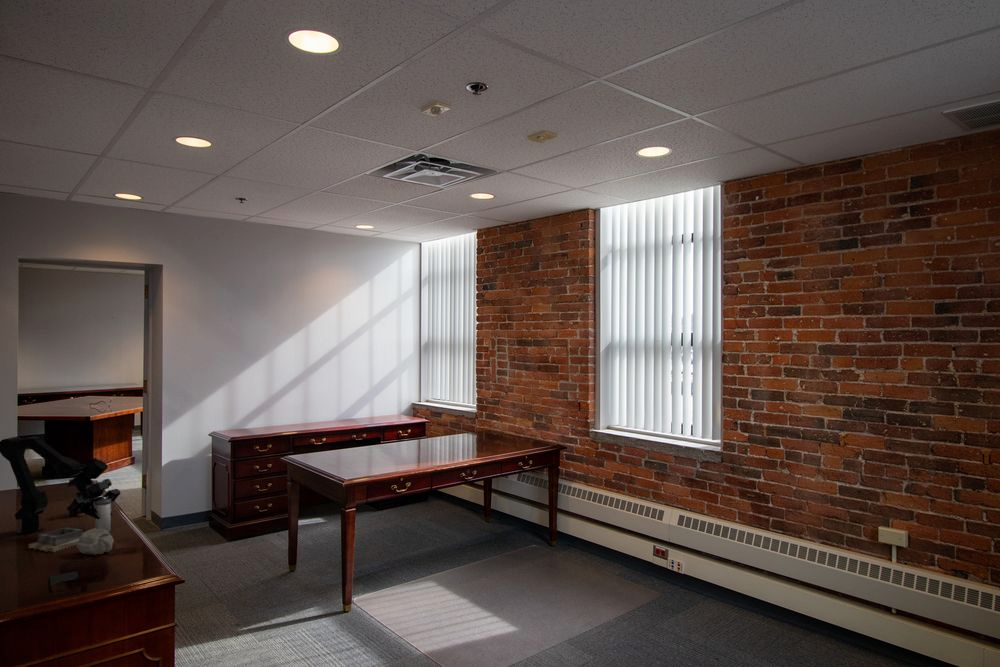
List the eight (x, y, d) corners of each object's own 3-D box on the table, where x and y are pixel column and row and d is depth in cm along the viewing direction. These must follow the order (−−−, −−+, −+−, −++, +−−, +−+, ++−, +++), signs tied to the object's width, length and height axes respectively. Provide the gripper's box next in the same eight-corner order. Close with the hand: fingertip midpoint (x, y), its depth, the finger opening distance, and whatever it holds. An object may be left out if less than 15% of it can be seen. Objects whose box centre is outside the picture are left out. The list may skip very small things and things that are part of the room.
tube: (91, 534, 237) (91, 501, 237) (104, 530, 242) (104, 498, 242) (101, 535, 235) (101, 502, 235) (114, 531, 240) (114, 499, 241)
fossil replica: (107, 557, 212) (118, 550, 222) (110, 533, 213) (121, 527, 222) (68, 557, 209) (82, 550, 219) (72, 533, 210) (85, 526, 220)
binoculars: (78, 489, 271) (96, 488, 269) (80, 512, 271) (98, 511, 269) (60, 494, 262) (79, 492, 260) (61, 518, 262) (80, 517, 260)
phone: (49, 591, 181) (49, 576, 193) (49, 594, 181) (49, 578, 193) (79, 585, 185) (77, 570, 197) (79, 588, 185) (77, 573, 197)
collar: (28, 548, 221) (28, 535, 221) (67, 536, 234) (67, 525, 235) (53, 552, 216) (53, 540, 216) (91, 540, 230) (91, 528, 230)
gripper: (72, 479, 232) (93, 509, 228) (117, 469, 249) (137, 497, 245) (58, 497, 234) (78, 528, 230) (103, 486, 252) (123, 515, 248)
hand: (105, 516), depth 238 cm, fingers closed on tube, 5 cm apart
